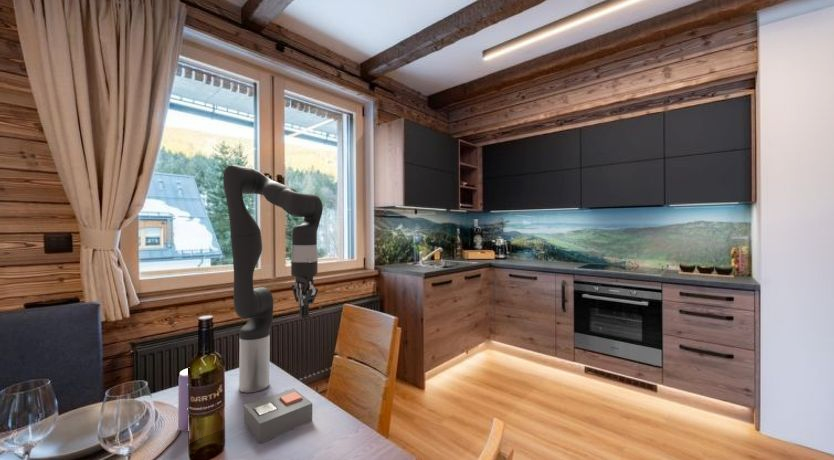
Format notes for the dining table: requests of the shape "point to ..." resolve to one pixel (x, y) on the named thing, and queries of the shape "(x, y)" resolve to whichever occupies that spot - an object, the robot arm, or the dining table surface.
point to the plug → (265, 409)
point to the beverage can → (183, 401)
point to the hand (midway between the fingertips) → (304, 317)
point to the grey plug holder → (277, 416)
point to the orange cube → (290, 398)
